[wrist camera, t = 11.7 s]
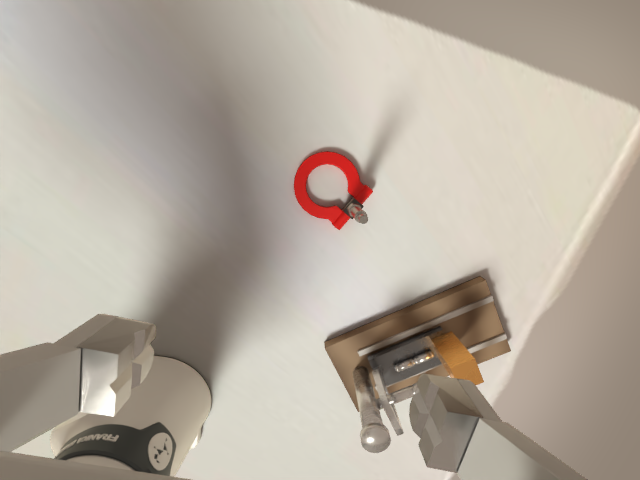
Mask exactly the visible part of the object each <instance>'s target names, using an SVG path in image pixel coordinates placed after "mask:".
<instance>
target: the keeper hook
mask: <svg viewBox="0 0 640 480" xmlns="http://www.w3.org/2000/svg"><path fill="white" fill-rule="evenodd" d="M353 379H354V385H355V390H356V396H357V401H358V406H359V412H360V417H361V423H362V428H363V429H362V430H361V433H360V437H361V443H362V446H363V448H364V449H365V450H367V451H369V452H372V453H378V452H382V451H384V450H385V449H387V448H388V446H389V445H390V441H391V439H390V435H389V431H388V429H387V428H386V426H384V425H383V423H382V419H381V415H380V411H379V410H380V409H383V406H382V404H381V402H380V398H378V399H376V396H375V393H374V389H373V385H372V381H371V378H370V374H369V370H368V369H367V368H366V367H364V366H358V367H356V368H355V369H354V370H353ZM418 392H419V389H418V386H417V383H415V384H413V385H410V386H408V387H405V388H403V389H400V390H398V391H395V392H393V393H390V394H388V395H387V398H388V400H389V402H390V404H391V405H393V404H395V403H398V402H400V401H403V400H406V399H408V398H411V397H413V396H414V395H415V394H416V393H418Z"/></svg>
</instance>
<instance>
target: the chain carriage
mask: <svg viewBox="0 0 640 480" xmlns="http://www.w3.org/2000/svg"><path fill="white" fill-rule="evenodd" d="M367 358H368V361H369V363H370V365H371V367H372V369H373V371H372V373H373V377H374V380H375V384H376V387H377V391H378V394H379V398H380V402H381V404H382V406H383V408H384V410H385V412H386V414H387V416H388V418H389V420H390V422H391V424H392V426H393V428H394V430H395V432H396V434H397V436H398V435H401V434H403V430H402V427H401V424H400V421H399V418H398V415H397V412H396V409H395V406H394V404H393V405H391V404H390V402H389V400H388V398H387V395H388V394H389V392H388V389H387V386H389V385H391V384H394V383H396V382H399V381H401V380H404V379H406V378H409V377H411V376H414V375H416V374H419V373H421V372H424V371H426V370H429V369H431V368H434V367H436V366H438V365H441V364H442V365H443V366H444V368H445V369H446V371H447V372H448V374H449V375H450V377H451V378H457V379H464V380H470V381H471V382H473V383H474V384H475V385H478V384H480V383H483V382H484V381H483V378H482V376H481V373H480V371H479V368H478V366H477V363H476V360H475V358H474V357H473V356H472V355H471V354H470V352H469V351H468V350H467V349H466V348H465V346H464V345H463V344H462V343H461V342H460V340H459V339H458V338H457V337H456V336H455V335H454V333H453V332H452V331H451V332H449V333H446V334H445V333H444V331H443V329H442V328H441V327H440V326H438V327H436V328H433V329H431V330H429V331H426V332H424V333H421V334H419V335H417V336H414V337H412V338H409V339H407V340H405V341H402V342H400V343H397V344H395V345H393V346H390V347H388V348H385V349H383V350H380V351H378V352H376V353H373V354H371V355H368V356H367Z"/></svg>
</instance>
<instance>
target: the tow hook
mask: <svg viewBox="0 0 640 480" xmlns="http://www.w3.org/2000/svg"><path fill="white" fill-rule="evenodd" d="M324 164H330V165H334V166H337V167H338V168H340V169H341V170H342V171H343V172H344V174H345V175H346V178H347V180H348V192H349V193H350V194H351V195H352V196H353V197H354V198H352V199H351V200H350V201H349V202H348V203H347V205H346V206H345V207H344V208H343V211H342V210H341V209H340V208H339V207H338V206H335V205H334V206H332V207H323V206H319V205H317V204H315V203H314V202H313V201H312V200H311V199H310V197H309V196H308V193H307V190H306V181H307V178H308V175H309V174H310V173H311V171H312V170H313V169H315V168H316V167H318V166H320V165H324ZM294 190H295V195H296V198H297V200H298V203H299V204H300V205H301V206H302V208H303V209H304V210H305V211H307V212H308V213H309V214H310V215H313V216H315V217H318V218H323V219H329V220H330V221H331V222H332V224H333V225H334V226H335V227H336V228H337V229H339V230H340V229H341V228H342V227H343V225H344V224H345V223H346V222H347V221H348V220H349V219H350V218H351V219H353V218H355V220H356V221H357V222H359V223H362V224H365V223H367V221H368V217H367V214H366V213H365V212H364V211H363V210H362V208H363V205H362V204H363V203H364V202H365V200H366V199H367V198H368V197H369V196H370V195H371V194H372V192H373V191H372V189H371V188H370V187H368V186H367V185H363V184H362V183H361V182H360V178H359V175H358V172H357V169H356V168H355V166H354V165H353V164H352V162H351V161H350V160H348V159H347V158H346V157H345V156H343V155H340V154H338V153H335V152H328V151H327V152H320V153H317V154H314V155H312V156H310V157H309V158H307V159H306V160H305V161H304V162H303V163H302V164H301V166H300V167H299V168H298V170H297V173H296V176H295V180H294Z"/></svg>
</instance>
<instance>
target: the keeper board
mask: <svg viewBox="0 0 640 480" xmlns="http://www.w3.org/2000/svg"><path fill="white" fill-rule="evenodd" d="M493 301H494V299H493V296H492V295H491V293H490V291H489V288H488V285H487V282H486V280H485V279H483V278H482V277H480V276H479V277H477V278H474V279H472V280H470V281H467V282H465V283H463V284H460V285H458V286H456V287H453V288H451V289H448V290H446V291H444V292H441V293H439V294H437V295H434V296H432V297H430V298H427V299H425V300H423V301H420V302H418V303H415V304H413V305H411V306H408V307H406V308H404V309H401V310H399V311H397V312H394V313H392V314H390V315H387V316H385V317H382V318H380V319H378V320H375V321H373V322H371V323H368V324H366V325H364V326H361V327H359V328H357V329H354V330H352V331H350V332H347V333H345V334H342V335H340V336H338V337H335V338H333V339H331V340H328V341H326V342H325V349H326V351H327V353H328V355H329V357H330V359H331V361H332V363H333V365H334V367H335V368H336V370H337V372H338V374H339V376H340V378H341V380H342V382H343V384H344V386H345V388H346V390H347V391H348V393H349V395H350V397H351V399H352V401H353V403H354V405H355V407H356V409H357V411H358V412H359V406H358V401H357V396H356V390H355V385H354V379H353V370H354V369H355V368H356V367H358V366H364V367H366V368H367V369H368V370H369V374H370V378H371V381H372V385H373V389H374V393H375V396H376V399H378V398H379V394H378V391H377V387H376V384H375V380H374V377H373V373H372V371H373V369H372V367H371V365H370V363H369V361H368V358H367V356H368V355H371V354H373V353H376V352H378V351H380V350H383V349H385V348H388V347H390V346H393V345H395V344H397V343H400V342H402V341H405V340H407V339H409V338H412V337H414V336H417V335H419V334H421V333H424V332H426V331H429V330H431V329H433V328H436V327H438V326H440V327H441V328H442V329H443V331H444V333H445V334H446V333H449V332H451V331H452V332H453V333H454V335H455V336H456V337H457V338H458V339H459V340H460V342H461V343H462V344H463V345H464V346H465V348H466V349H467V350H468V351H469V352H470V354H471V355H472V356H473V357H474V358H475V360H476V363H477V364H479V363H482V362H484V361H487V360H489V359H492V358H494V357H497V356H499V355H502V354H504V353H507V352H510V351H511V350H510V347H509V344H508V341H507V336H506V334H505V333H504V330H503V327H502V324H501V322H500V319H499V316H498V313H497V310H496V308H495V305H494V302H493ZM422 373H424V374H430V375H437V376H443V377H447V376H449V374H448V372H447V371H446V369H445V368H444V366H443V365H442V364H441V365H438V366H436V367H434V368H431V369H429V370H426V371H424V372H421V373H419V374H416V375H414V376H411V377H409V378H406V379H404V380H401V381H399V382H396V383H394V384H391V385H389V386H387V389H388V392H389V394H390V393H393V392H395V391H398V390H400V389H403V388H405V387H408V386H410V385H413V384H415V383H417V382H418V379H419V377H420V375H421V374H422Z"/></svg>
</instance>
